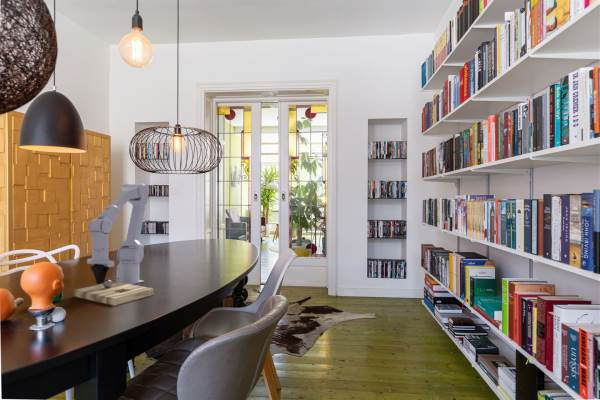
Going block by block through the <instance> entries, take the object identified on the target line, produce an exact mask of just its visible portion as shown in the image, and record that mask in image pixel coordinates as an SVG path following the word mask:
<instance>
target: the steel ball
mask: <svg viewBox="0 0 600 400" xmlns="http://www.w3.org/2000/svg"><path fill="white" fill-rule="evenodd" d="M112 282H113V281H112V280H111V279H106V280H104V283H102V284H103V286H104V287H105V288H110V287H111V286H112V284H113V283H112Z"/></svg>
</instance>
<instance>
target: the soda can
mask: <svg viewBox="0 0 600 400" xmlns="http://www.w3.org/2000/svg"><path fill="white" fill-rule="evenodd" d="M59 267H60V268H61V269H62V272H63V273H64V269H63V268H62V267H61V266H59ZM63 292H64V290H63V291H62V292H61V293H60V294H59V295H57V296H56V297H54V299H53V302H54V303H59V302H62V301H63V299H64V293H63Z"/></svg>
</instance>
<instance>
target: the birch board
mask: <svg viewBox="0 0 600 400" xmlns="http://www.w3.org/2000/svg"><path fill="white" fill-rule="evenodd" d="M112 283H113V284H112V286H111V287H110V288H105V287H104V286H103V283H102V284H96V285H91V286H86V287H81V288H77V289H74V297H76V298H80V299H82V300H83V299H84V300H88V301H92V302H97V303H102V304H105V305H110V306H118V305H122V304H125V303H130V302H132V301H136V300H140V299H143V298H146V297H151V296H153V295H154V287H148V286H147V287H146V286H141V285H136V284H126V283H120V282H116V280H115V281H112Z"/></svg>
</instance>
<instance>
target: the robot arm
mask: <svg viewBox="0 0 600 400" xmlns="http://www.w3.org/2000/svg"><path fill="white" fill-rule="evenodd" d="M149 192H150V190H149V188H148V186H147V185H146V184H145V183H125V184H123V185H122V187H120V193H119V195H117V197H116V199H115V201H114V202H113V203H112V204H109V205H106V206H105V207H104V209H103V210H102V212H101V213H100V214H99V215H98V216H97V217H96V218H93V219H92V220H91V221H90V222H89V224H88V225H87V228H88V231H89V233H90V238H91V258H87V259H86V264H87V265H92V266H90V269H91V271H92V273H93V276H94V279H95V283H96V285H100V284H103V283H104V281H105V279H106V276H107V273H108V271H109V269H110V268H114V267H115V261H114V260H111V259H109V256H110V255H109V253H110V251H109V247H110V246H109V242H110V241H109V235H110V234H109V233H110V232H111V231H112V230H113V226H114V222H115V221H116V219H117V218H118V217H119V216H120V214H121V209H122V208H123V207H124V206H125V205H127V203H129V204H130V205H132V210H131V213H130V218H129V219H130V220H129V224H128V229H127V234H126V239H125V240H124V241H123V242H122V243H120V245H119V248H118V250H117V253H116V257H117V260H118V261H119V263H118V265H117V266H116V280H115V282H120V283H126V284H132V285H136V284H139V283H143V282H145V280H141V279H140V263H142V261H143V259H144V256H145V253H144V252H145V251H144V250H145V246H144V245H143V244H142V243H141V242H140V241H141V234H142V227H143V224H144V217H145V214H146V213H145V211H146V207H147V206H146V205H147V203H148V199H149V195H150V193H149Z"/></svg>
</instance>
